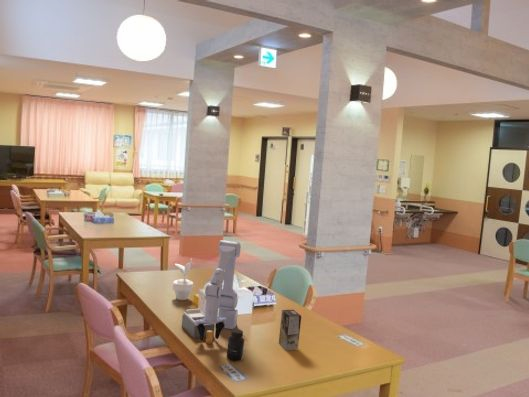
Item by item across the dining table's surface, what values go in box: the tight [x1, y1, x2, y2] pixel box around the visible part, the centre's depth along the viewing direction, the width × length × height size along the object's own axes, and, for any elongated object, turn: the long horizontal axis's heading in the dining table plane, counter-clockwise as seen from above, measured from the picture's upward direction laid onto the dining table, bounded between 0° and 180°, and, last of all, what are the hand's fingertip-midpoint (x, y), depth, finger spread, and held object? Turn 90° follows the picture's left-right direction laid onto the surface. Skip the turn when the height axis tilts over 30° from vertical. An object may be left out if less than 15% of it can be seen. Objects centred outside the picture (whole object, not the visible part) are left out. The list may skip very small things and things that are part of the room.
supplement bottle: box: [226, 328, 245, 362], centre depth 208 cm, size 7×7×12 cm
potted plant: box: [172, 256, 195, 301], centre depth 282 cm, size 13×12×25 cm
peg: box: [205, 330, 214, 344], centre depth 223 cm, size 3×3×5 cm
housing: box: [181, 310, 216, 339], centre depth 235 cm, size 16×10×7 cm, turn 30°
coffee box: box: [278, 309, 302, 351], centre depth 227 cm, size 9×6×16 cm
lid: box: [185, 308, 205, 319], centre depth 238 cm, size 7×7×2 cm
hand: (209, 339), depth 223 cm, fingers open, 7 cm apart
